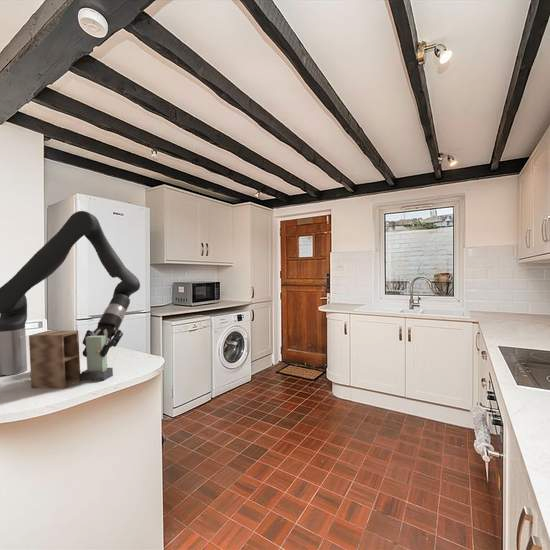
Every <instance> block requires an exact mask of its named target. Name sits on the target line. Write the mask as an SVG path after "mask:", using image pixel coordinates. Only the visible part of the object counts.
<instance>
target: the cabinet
mask: <svg viewBox="0 0 550 550" xmlns="http://www.w3.org/2000/svg"><path fill="white" fill-rule="evenodd" d="M79 336H80V334H79V330H45V331H42V332H38V333H33V334H31V335H30V334H29V335H28V342H29V343H28V345H29V363H30V383H31V384H30V385H31V386H30V387H31V389H65V388H67V387H69V386H71V385H74V384H76V383H78V382H79V381H80V375H79V374H80V373H81V362H80V361H81V360H80V341H79V340H80V339H79Z"/></svg>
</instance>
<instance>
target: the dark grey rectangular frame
mask: <svg viewBox="0 0 550 550" xmlns="http://www.w3.org/2000/svg"><path fill="white" fill-rule="evenodd" d="M113 368H114V367H107V370H105V371H103V372H87V369H85V370H83V371H80V374H79V375H80V381H106V380H108V379H109V378H111V377H113V376H114V372H113V371H114V370H113Z"/></svg>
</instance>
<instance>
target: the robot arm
mask: <svg viewBox="0 0 550 550" xmlns="http://www.w3.org/2000/svg"><path fill="white" fill-rule="evenodd" d="M82 237H85V238H86V239H87V240H88V241H89V242H90V244H91V245H92V247H93V248H94V250H95V252H96V254H97V257H98V259H99V261H100V263H101V265H102V266H103V267H104V269H105V270H106V272H107V273H108V275H109V276H110V277H111V278H113V279H114V278H118V279H119V280H120V282H119V283H117V285H116V286H115V288H114V291H113V294H112V298H111V299H110V302H109V303H108V305H107V307H106V308H105V310H104V311H103V313H102V315H101V317H100V318H99V321H98V323H97V327H96V329H94V330H92V331H91V330H90V329H88V330H86V332H85V334H84V338H83V340H82V341H81V342H82V343H81V344H83V345H84V346H85V347H84V350H83V351H82V355H83V357H84V358H87V350H86V337H88V336H106V342H105V345H104V346H103V348H102V350H101V352H100V356H101V357H105V355H106V354H108V352H109V350H110V348H112V347H116V346H118V344H119V342H120V340H121V338H122V337H123V335H124V333H123V331H122V330H121V329H119V328H120V327H121V324H122V323H123V321H124V318H125V316H126V312H127V310H128V308H129V306H130V302H131V299H130V296H131V295H133V294H134V293H137V292H138V291H139V290H140V288H141V283H140V280H139V278H138V276H136V275H135V274H134V273H133V272H131V271H130V270H129V269H128V268H127V267H126V266H125V264H124V262H122V259H120V256H119V255H118V254H117V253H116V251H115V249H114V248H113V246H112V245H111V243H110V242H109V241H108V239H107V237H106V235H105V233H104V230H103V228H102V226H101V224H100V222H99V219H98V218H97V217H96V216H95V215H94V214H92V213H90V212H88V211H85V210H80V211H75V212H74V213H72V214H71V216H69V217H68V219H67V220H66V222H65V223H64V224H63V225H62V227H61V228H60V229H59V231H57V232H56V234H54V236H52V237H51V238H50V239H49V240H48V241H47V242H46V243H45V244H44V245H43V246H42V247H41V248H39V249H38V251H37V252H35V253H34V254H33V256H32V257H30V259H29V260H28V261H27V262H26V263H25V264H24V265H23V266H22V267H21V268H20V269H19V270H18V271H17V272H16V273H15V274H14V275H13V276H12V277H11V278H10V279H9V280H8V281H7V282H5V283H4V284H3V285H2V286H0V375H6V376H12V374H13V375H17V374H21V373H24V372H26V371H27V370H28V357H27V356H28V355H27V354H28V353H27V338H26V335H27V334H26V323H27V321H28V320H27V319H28V299H27V297H26V296H27V295H26V294H27V293H28V292H29V291H30V290H31V289H32V288H33V287H34V286H36V285H38V284H40V283H41V282H43V281H45V280H46V279H47V278H49V277H50V276H51V275H53V274H54V272H56V270H58V269H59V268H60V267H61V266H62V265H63V263H64V262H65V260H66V259H67V258H68V255H69V253H70V251H71V249H72V248H73V246H74V245H75V244H76V243H77V242H78V241H79V240H80V239H81V238H82Z"/></svg>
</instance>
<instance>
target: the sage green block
mask: <svg viewBox="0 0 550 550" xmlns="http://www.w3.org/2000/svg"><path fill="white" fill-rule="evenodd" d="M105 342H106V336H88V337H86V346H85V347H86V350H87V357H86V370H87V372H103V371H105V370H107V368H108V359H107V357H108V356H107V354H108V353H107V354H106V355H105V357H101V356H100V352H101V350H102V348H103V346H104V345H105Z"/></svg>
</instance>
